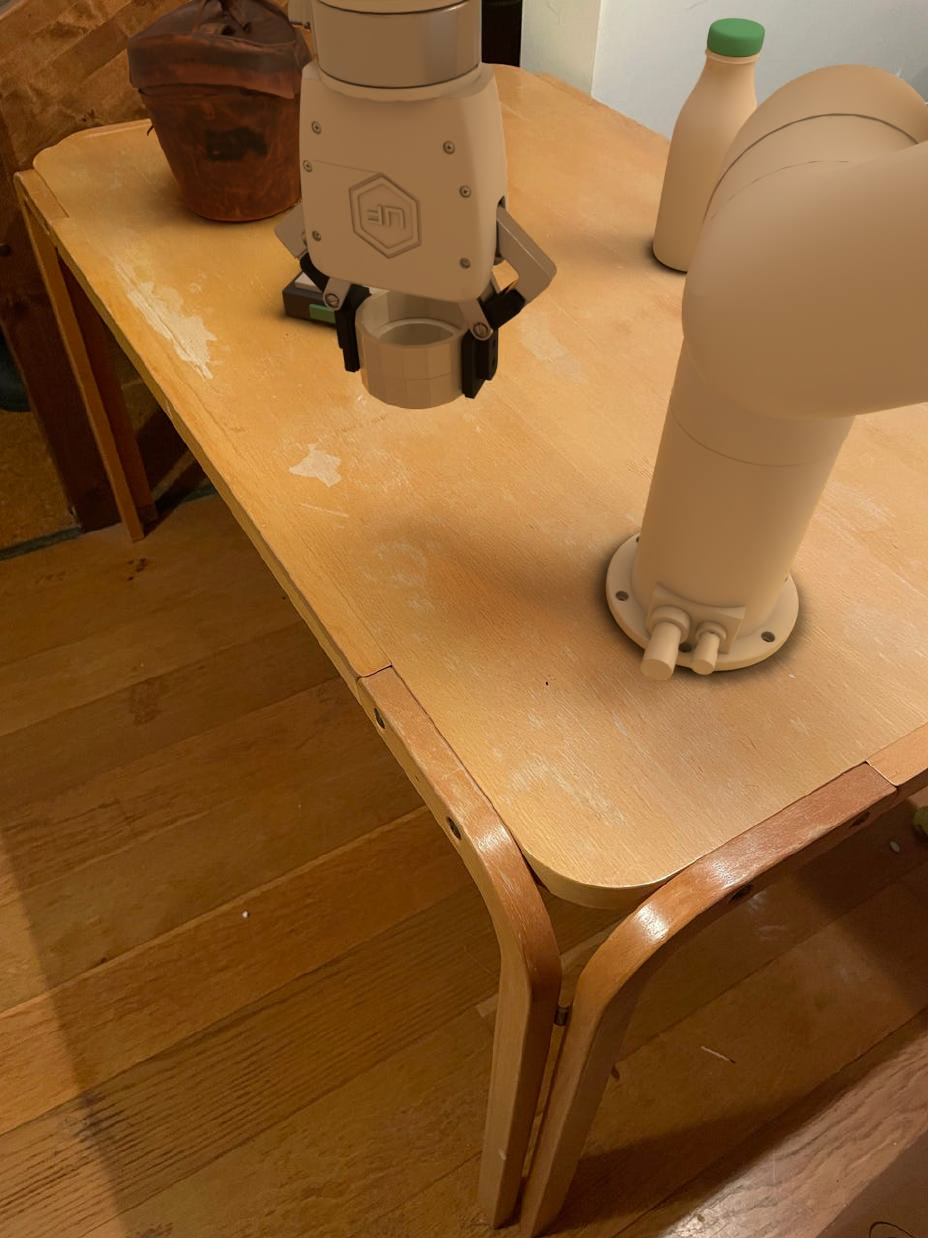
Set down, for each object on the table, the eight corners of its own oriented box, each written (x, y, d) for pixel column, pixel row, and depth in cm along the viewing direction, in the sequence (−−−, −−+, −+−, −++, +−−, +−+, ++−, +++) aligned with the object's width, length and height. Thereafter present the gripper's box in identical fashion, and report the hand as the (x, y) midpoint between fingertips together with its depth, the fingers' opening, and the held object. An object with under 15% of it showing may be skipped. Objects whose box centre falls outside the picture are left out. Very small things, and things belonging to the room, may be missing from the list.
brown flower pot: (278, 141, 106) (251, -42, 92) (360, 209, 95) (344, 14, 81) (133, 178, 99) (80, -12, 86) (203, 255, 89) (156, 52, 75)
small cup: (450, 426, 52) (448, 358, 48) (344, 401, 53) (334, 334, 50) (490, 361, 56) (491, 295, 52) (390, 340, 57) (384, 275, 54)
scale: (392, 342, 79) (390, 312, 77) (282, 317, 82) (277, 287, 80) (448, 269, 87) (448, 239, 85) (347, 248, 90) (344, 219, 88)
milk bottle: (701, 283, 86) (754, 49, 71) (636, 255, 89) (672, 25, 74) (743, 253, 90) (803, 24, 74) (679, 227, 93) (723, 3, 77)
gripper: (187, 41, 40) (261, 378, 54) (559, 89, 36) (536, 441, 50) (268, -10, 45) (317, 313, 58) (607, 29, 40) (574, 366, 54)
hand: (418, 370), depth 54 cm, fingers closed on small cup, 6 cm apart
